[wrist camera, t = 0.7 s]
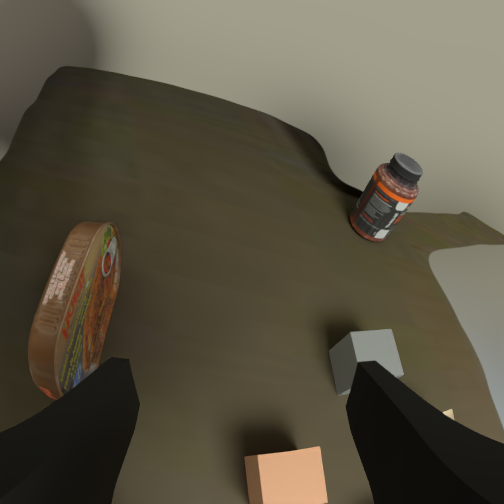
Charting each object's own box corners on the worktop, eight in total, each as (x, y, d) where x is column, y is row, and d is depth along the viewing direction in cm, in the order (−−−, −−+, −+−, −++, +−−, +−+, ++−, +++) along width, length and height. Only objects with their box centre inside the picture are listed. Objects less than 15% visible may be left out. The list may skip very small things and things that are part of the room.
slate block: (376, 389, 27) (403, 374, 24) (336, 395, 26) (361, 382, 23) (366, 347, 30) (391, 328, 26) (328, 351, 29) (350, 332, 25)
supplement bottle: (386, 250, 39) (433, 188, 31) (346, 233, 39) (388, 164, 31) (386, 221, 43) (426, 161, 34) (349, 204, 43) (386, 140, 35)
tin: (88, 415, 20) (53, 392, 14) (54, 404, 20) (10, 376, 13) (127, 264, 30) (119, 201, 23) (98, 258, 29) (84, 196, 23)
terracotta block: (303, 498, 20) (327, 502, 16) (249, 506, 19) (264, 514, 15) (297, 450, 22) (319, 446, 19) (243, 456, 21) (257, 454, 18)
